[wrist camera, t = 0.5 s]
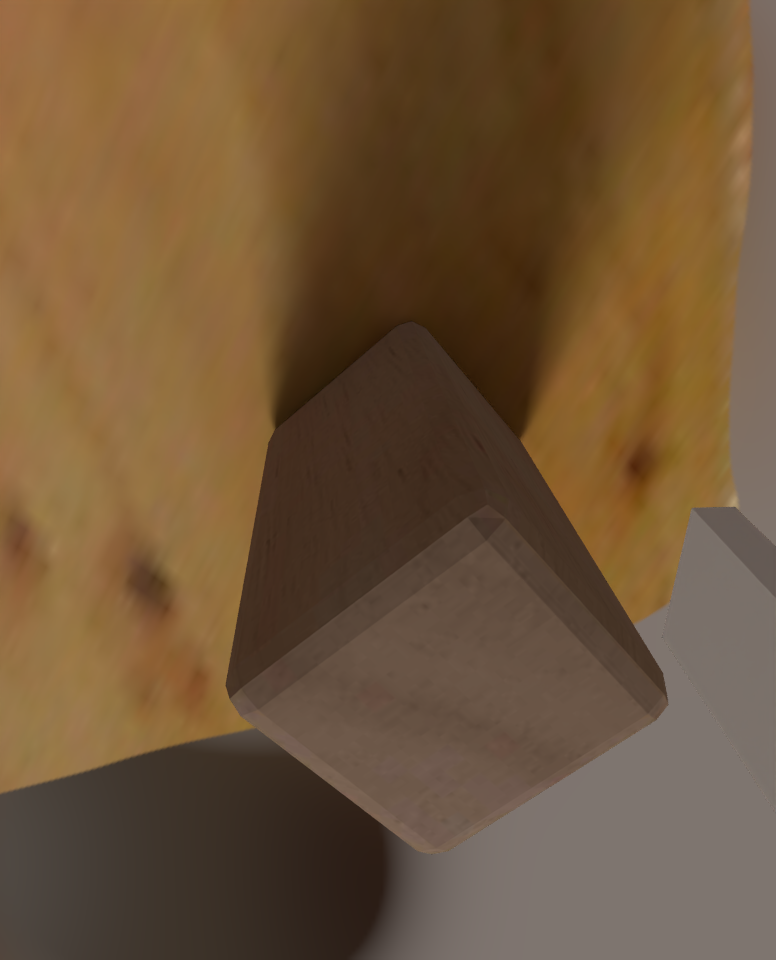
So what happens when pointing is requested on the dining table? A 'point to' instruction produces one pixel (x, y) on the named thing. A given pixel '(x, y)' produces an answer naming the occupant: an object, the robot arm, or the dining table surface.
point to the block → (427, 606)
